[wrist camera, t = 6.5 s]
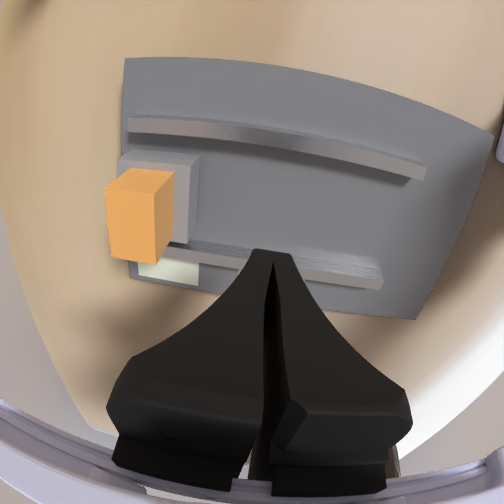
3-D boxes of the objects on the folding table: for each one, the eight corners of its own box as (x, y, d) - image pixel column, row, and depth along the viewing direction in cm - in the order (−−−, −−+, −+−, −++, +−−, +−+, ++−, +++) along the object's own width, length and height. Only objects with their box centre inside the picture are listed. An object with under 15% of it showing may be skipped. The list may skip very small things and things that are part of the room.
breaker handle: (200, 155, 16) (172, 187, 12) (195, 226, 18) (172, 275, 14) (132, 148, 16) (88, 178, 12) (134, 217, 18) (98, 260, 14)
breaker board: (478, 128, 15) (505, 141, 12) (408, 303, 23) (419, 330, 21) (139, 58, 15) (114, 58, 12) (139, 262, 23) (123, 287, 21)
